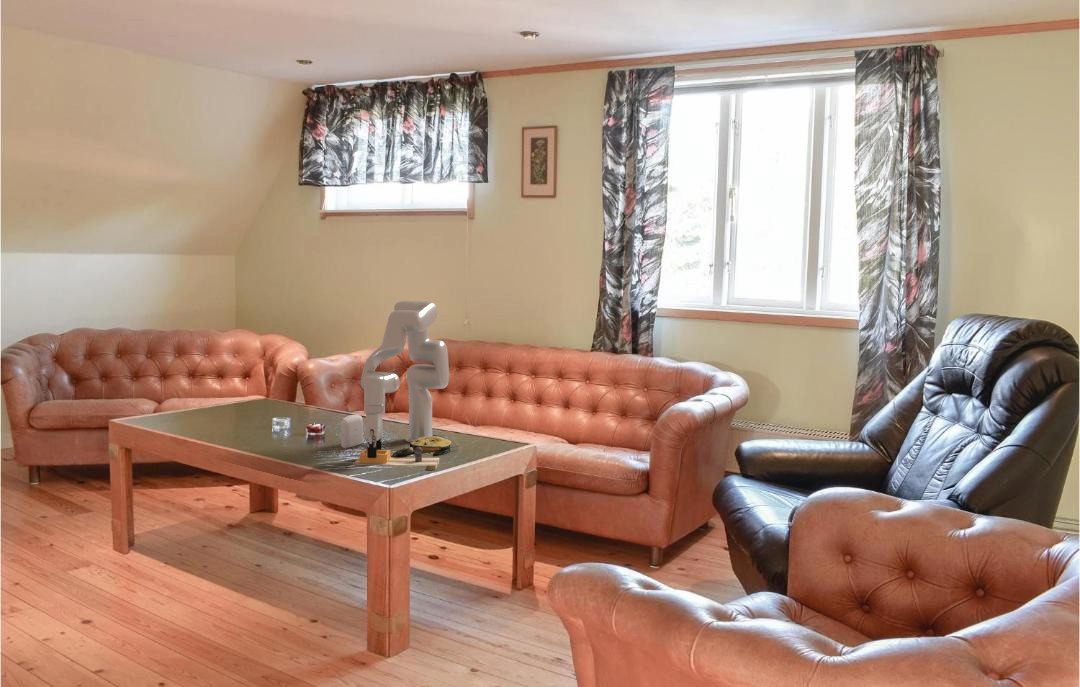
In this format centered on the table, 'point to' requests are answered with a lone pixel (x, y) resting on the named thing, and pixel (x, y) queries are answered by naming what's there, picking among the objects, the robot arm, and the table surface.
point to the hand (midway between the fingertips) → (374, 454)
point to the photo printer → (351, 431)
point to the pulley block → (427, 446)
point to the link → (382, 457)
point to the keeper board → (409, 461)
